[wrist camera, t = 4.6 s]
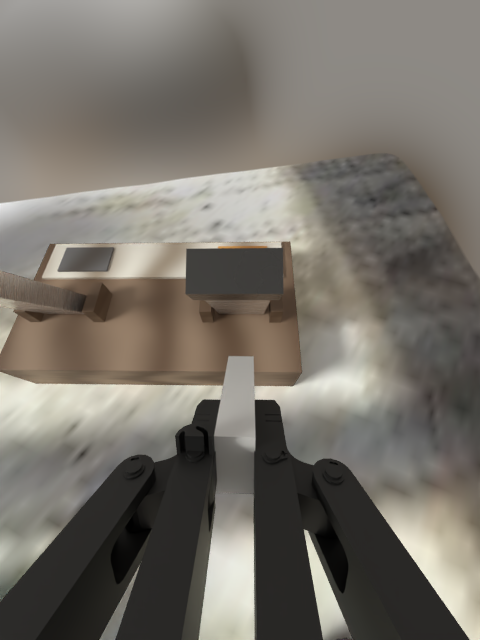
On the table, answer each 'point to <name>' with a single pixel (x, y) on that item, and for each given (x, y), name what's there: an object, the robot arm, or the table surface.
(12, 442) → the table surface
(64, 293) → the lever
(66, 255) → the switch unit
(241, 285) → the lever
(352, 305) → the table surface
